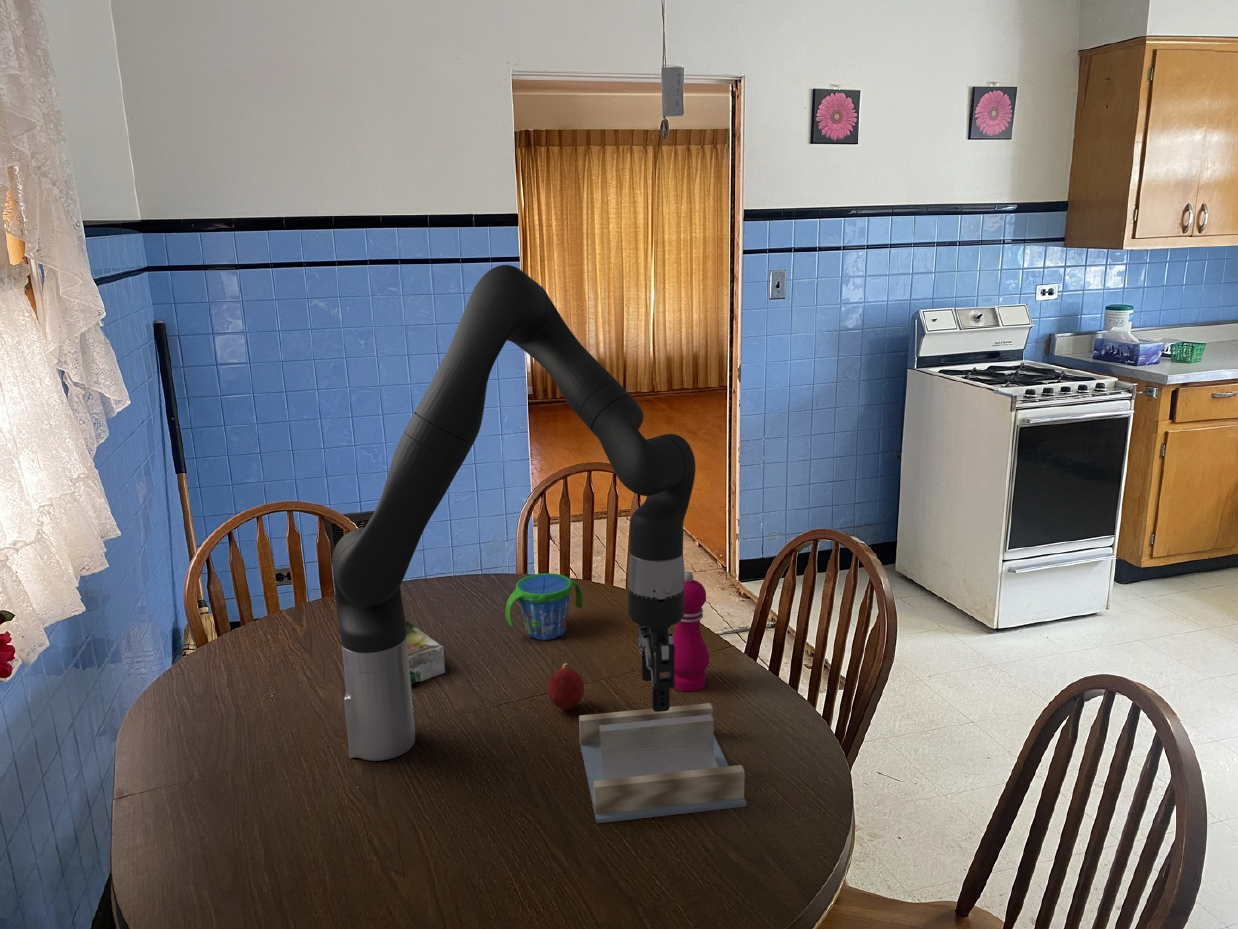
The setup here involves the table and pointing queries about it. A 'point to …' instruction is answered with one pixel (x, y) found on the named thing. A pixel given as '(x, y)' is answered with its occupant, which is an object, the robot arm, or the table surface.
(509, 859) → the table surface
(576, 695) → the onion
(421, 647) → the juice carton
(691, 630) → the pepper mill
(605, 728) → the bracket
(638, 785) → the walls
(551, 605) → the snack cup
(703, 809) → the board
